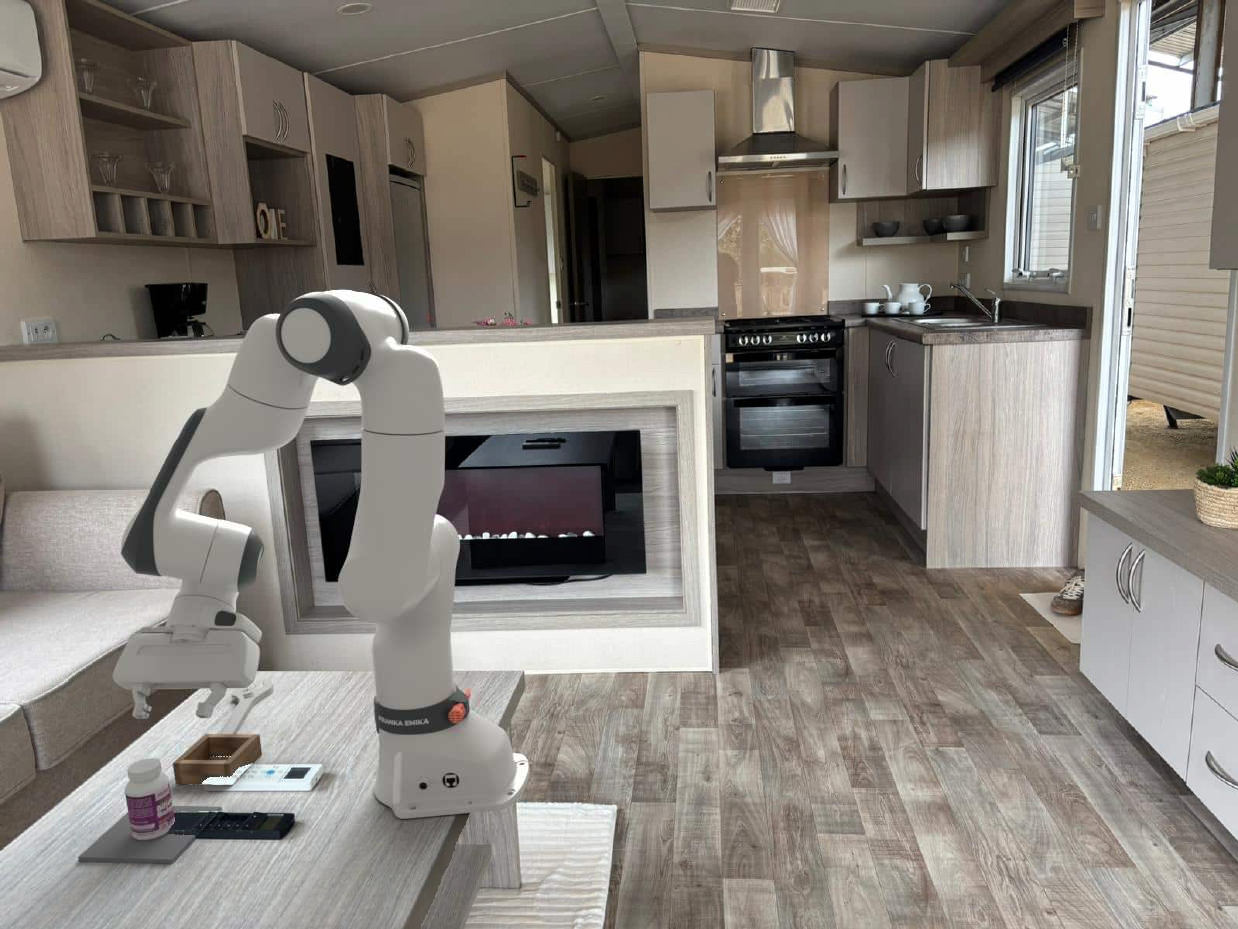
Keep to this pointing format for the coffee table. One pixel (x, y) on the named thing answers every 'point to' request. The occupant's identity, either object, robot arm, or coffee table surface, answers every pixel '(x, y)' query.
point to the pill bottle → (149, 800)
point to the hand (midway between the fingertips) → (171, 717)
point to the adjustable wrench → (245, 705)
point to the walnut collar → (199, 767)
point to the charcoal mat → (140, 843)
